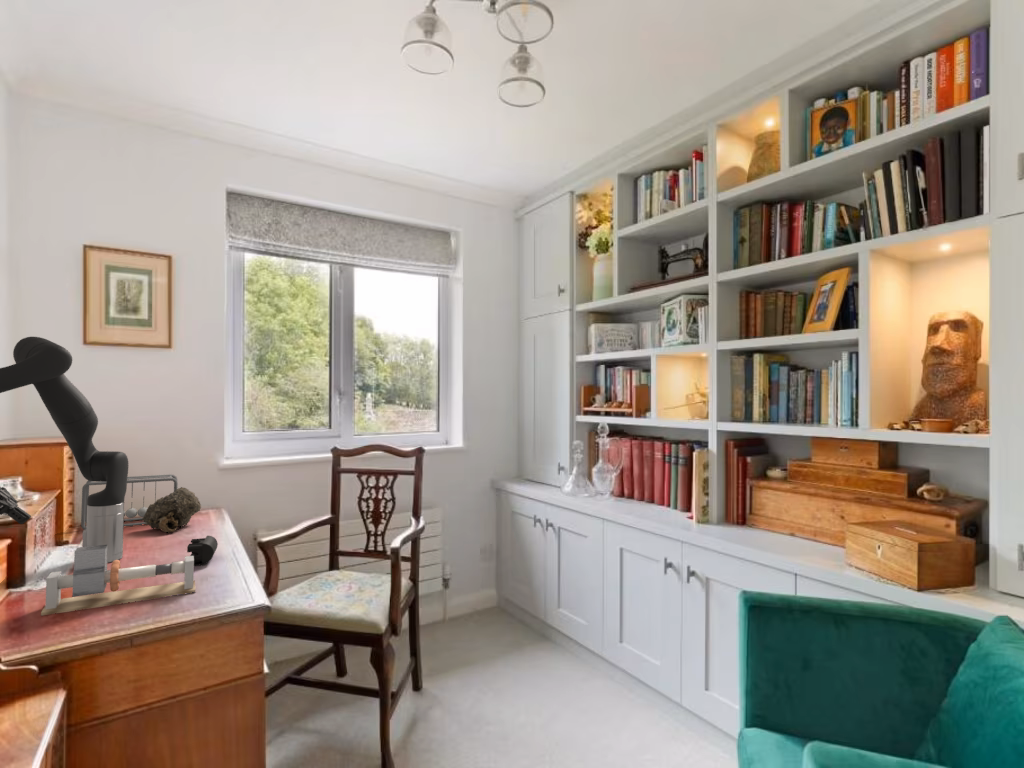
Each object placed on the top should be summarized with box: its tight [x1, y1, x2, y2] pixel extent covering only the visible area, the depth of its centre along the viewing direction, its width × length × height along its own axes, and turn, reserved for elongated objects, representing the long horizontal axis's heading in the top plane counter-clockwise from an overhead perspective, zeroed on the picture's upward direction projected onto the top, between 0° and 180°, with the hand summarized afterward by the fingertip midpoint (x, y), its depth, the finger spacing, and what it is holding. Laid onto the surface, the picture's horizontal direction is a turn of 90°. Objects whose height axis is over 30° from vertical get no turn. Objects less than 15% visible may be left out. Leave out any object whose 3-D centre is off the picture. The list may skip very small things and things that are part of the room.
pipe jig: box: [44, 555, 195, 610], centre depth 138 cm, size 30×5×8 cm, turn 121°
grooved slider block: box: [71, 545, 108, 597], centre depth 135 cm, size 6×6×10 cm
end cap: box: [186, 535, 219, 567], centre depth 169 cm, size 10×7×7 cm
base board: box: [40, 579, 196, 616], centre depth 138 cm, size 31×8×1 cm, turn 121°
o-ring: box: [109, 559, 122, 592], centre depth 137 cm, size 2×7×7 cm, turn 31°
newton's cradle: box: [80, 474, 179, 531], centre depth 213 cm, size 30×10×18 cm, turn 122°
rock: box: [141, 486, 202, 534], centre depth 206 cm, size 18×14×15 cm
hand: (26, 520), depth 129 cm, fingers closed
